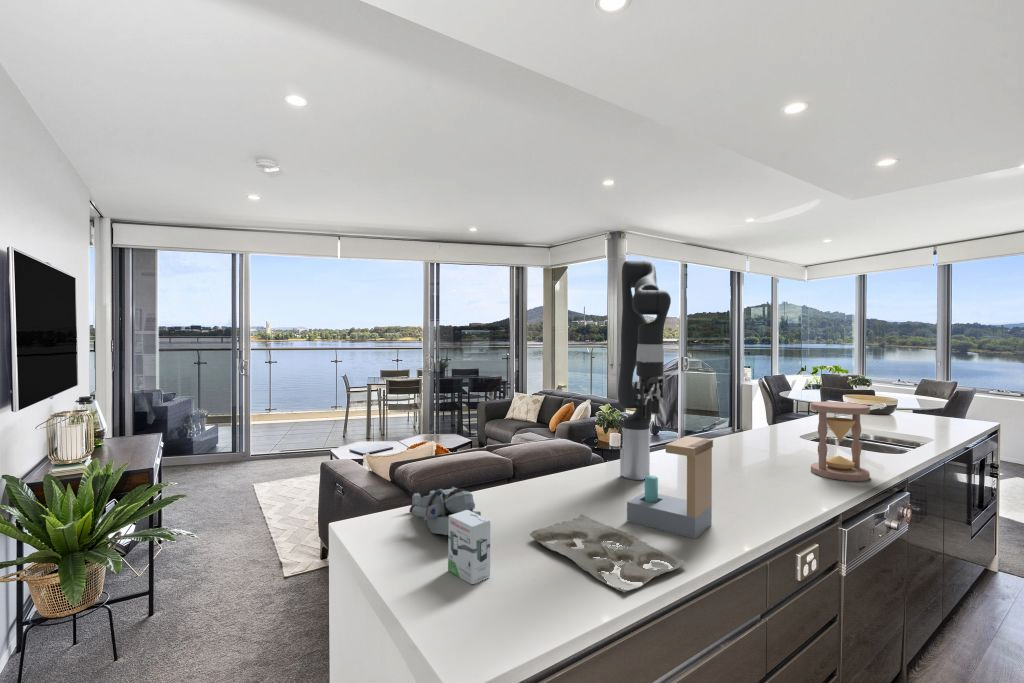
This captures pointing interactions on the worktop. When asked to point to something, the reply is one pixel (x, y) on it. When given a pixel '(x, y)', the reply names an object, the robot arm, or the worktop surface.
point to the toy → (442, 507)
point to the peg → (651, 489)
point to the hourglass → (840, 426)
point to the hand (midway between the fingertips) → (648, 415)
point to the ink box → (469, 546)
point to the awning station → (675, 511)
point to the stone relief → (604, 549)
